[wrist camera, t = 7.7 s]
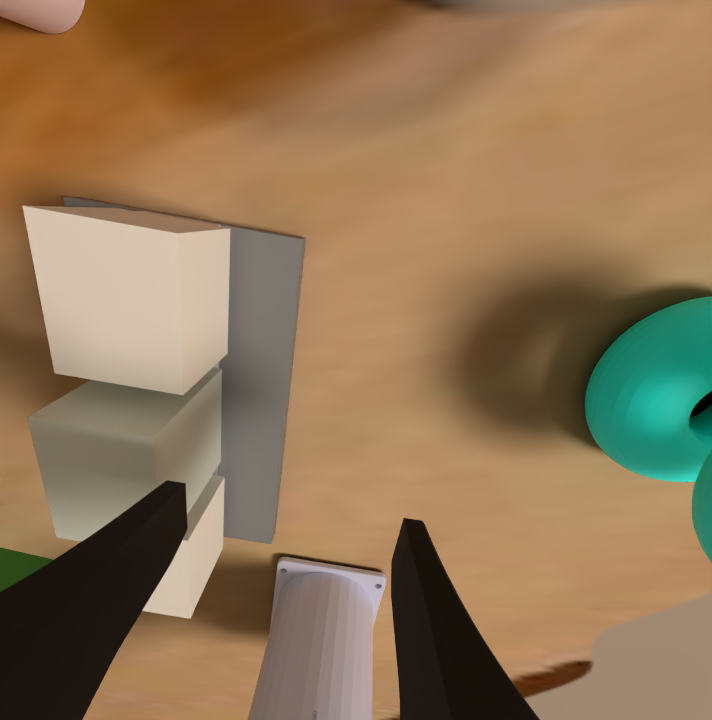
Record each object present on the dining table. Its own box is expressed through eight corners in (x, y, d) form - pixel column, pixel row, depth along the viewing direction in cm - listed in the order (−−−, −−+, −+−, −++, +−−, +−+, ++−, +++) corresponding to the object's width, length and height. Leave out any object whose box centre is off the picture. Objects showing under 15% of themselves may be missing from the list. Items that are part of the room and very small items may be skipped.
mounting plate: (275, 532, 25) (244, 627, 19) (120, 506, 25) (43, 595, 19) (305, 237, 17) (270, 249, 11) (80, 197, 17) (-72, 188, 11)
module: (220, 461, 20) (162, 554, 15) (141, 448, 20) (53, 536, 15) (221, 368, 18) (153, 437, 12) (131, 353, 18) (22, 416, 12)
